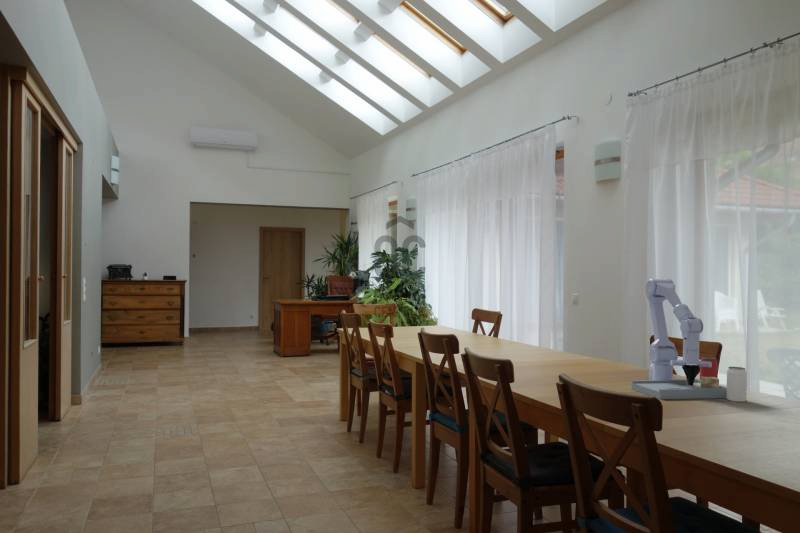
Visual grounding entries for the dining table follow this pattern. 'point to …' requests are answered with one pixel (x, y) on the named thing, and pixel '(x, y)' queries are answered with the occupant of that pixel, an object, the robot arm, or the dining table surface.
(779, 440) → the dining table surface
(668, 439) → the dining table surface
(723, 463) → the dining table surface
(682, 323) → the robot arm
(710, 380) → the block
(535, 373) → the dining table surface
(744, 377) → the can
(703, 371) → the beer can
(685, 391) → the trap box
